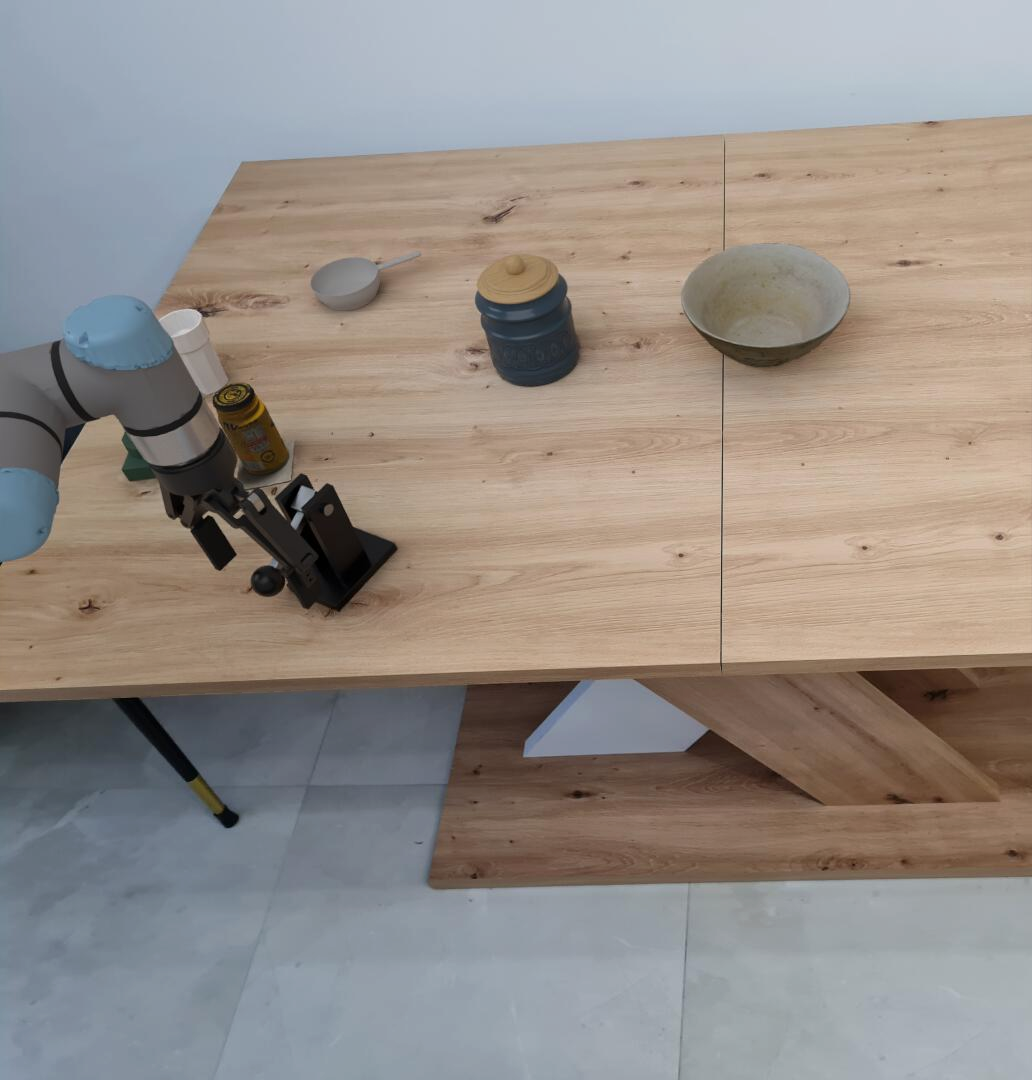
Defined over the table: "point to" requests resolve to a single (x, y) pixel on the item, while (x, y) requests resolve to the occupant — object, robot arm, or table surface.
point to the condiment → (253, 437)
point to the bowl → (765, 302)
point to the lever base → (335, 543)
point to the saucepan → (351, 281)
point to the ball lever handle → (269, 576)
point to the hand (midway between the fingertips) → (269, 580)
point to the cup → (195, 349)
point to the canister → (527, 319)
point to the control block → (135, 462)
